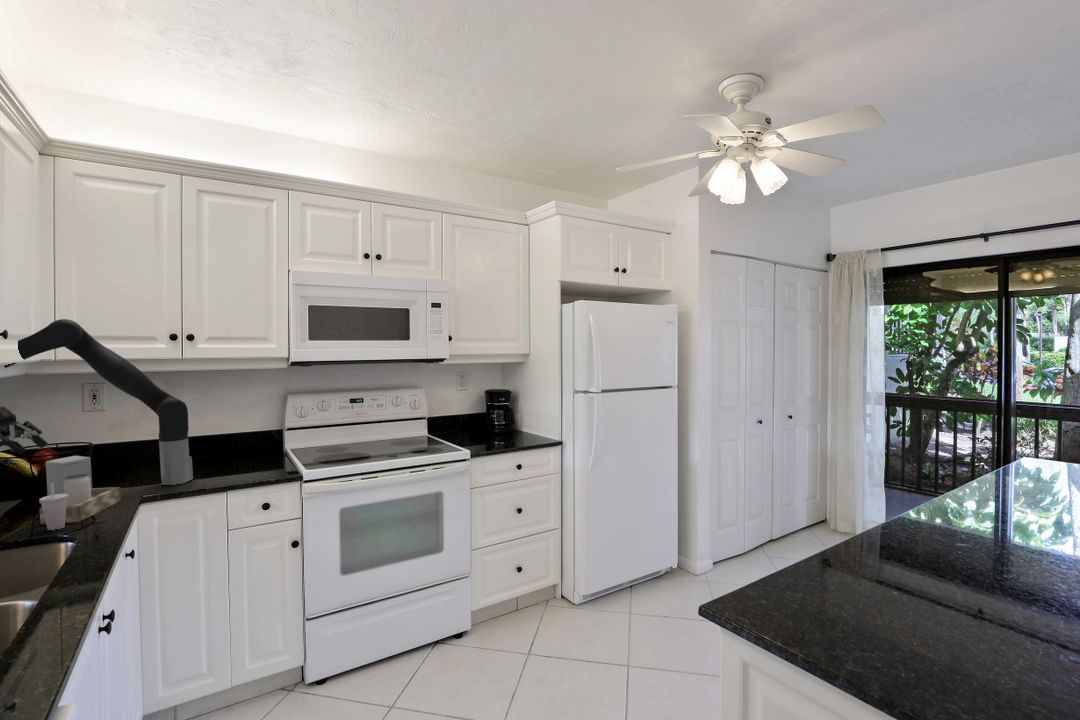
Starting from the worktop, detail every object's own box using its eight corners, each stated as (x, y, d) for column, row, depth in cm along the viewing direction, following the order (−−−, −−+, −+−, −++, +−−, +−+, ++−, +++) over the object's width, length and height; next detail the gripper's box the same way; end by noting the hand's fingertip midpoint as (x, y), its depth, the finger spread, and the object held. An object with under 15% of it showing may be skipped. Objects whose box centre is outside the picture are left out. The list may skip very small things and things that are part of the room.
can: (76, 516, 165) (73, 479, 164) (60, 515, 166) (57, 478, 166) (97, 509, 172) (94, 474, 171) (81, 508, 173) (79, 473, 172)
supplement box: (63, 506, 175) (60, 463, 174) (47, 503, 178) (44, 461, 177) (94, 498, 184) (91, 456, 183) (78, 495, 187) (75, 455, 186)
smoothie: (37, 533, 151) (33, 487, 150) (47, 526, 157) (44, 481, 156) (65, 530, 153) (61, 484, 153) (74, 522, 159) (71, 478, 159)
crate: (87, 502, 178) (86, 488, 178) (121, 501, 180) (120, 486, 179) (40, 524, 159) (39, 508, 158) (78, 522, 160) (77, 506, 160)
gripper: (-21, 409, 157) (24, 445, 159) (19, 403, 171) (60, 435, 173) (-40, 427, 157) (5, 462, 159) (2, 419, 171) (43, 452, 173)
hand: (34, 448), depth 166 cm, fingers open, 8 cm apart
